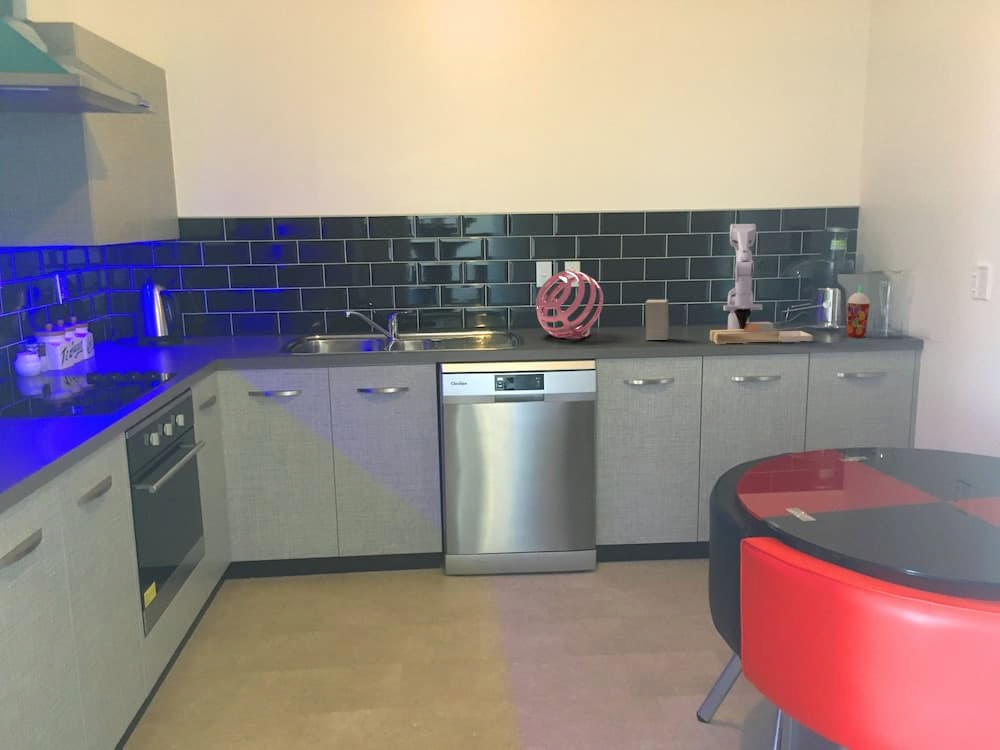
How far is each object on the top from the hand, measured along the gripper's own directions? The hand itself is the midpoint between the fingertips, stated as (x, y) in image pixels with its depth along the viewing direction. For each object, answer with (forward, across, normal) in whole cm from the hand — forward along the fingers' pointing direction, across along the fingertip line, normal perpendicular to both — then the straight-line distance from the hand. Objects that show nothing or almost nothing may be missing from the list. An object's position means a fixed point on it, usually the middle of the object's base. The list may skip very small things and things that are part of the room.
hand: (741, 328), depth 322 cm
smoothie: (+5, +47, +4) cm, 47 cm away
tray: (+5, +20, 0) cm, 20 cm away
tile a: (+1, +4, 0) cm, 4 cm away
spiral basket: (+5, -65, +20) cm, 68 cm away
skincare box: (+5, -31, +8) cm, 33 cm away
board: (+5, +1, 0) cm, 5 cm away
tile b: (+1, +9, 0) cm, 9 cm away
